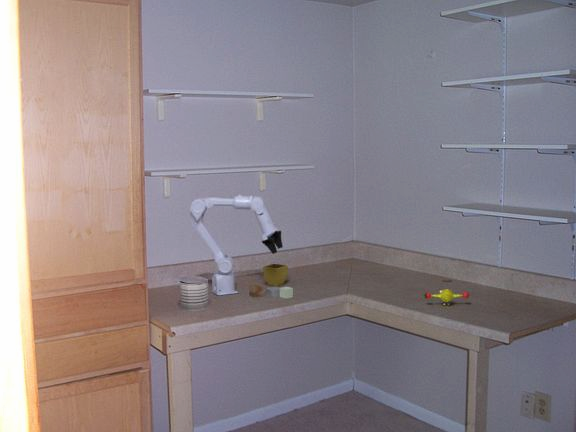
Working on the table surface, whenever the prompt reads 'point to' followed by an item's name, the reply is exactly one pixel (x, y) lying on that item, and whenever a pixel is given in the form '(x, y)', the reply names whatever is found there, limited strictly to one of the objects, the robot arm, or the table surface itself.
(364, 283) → the table surface
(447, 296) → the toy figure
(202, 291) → the can
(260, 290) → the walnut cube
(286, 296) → the sage cube
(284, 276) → the flower pot
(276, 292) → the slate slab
